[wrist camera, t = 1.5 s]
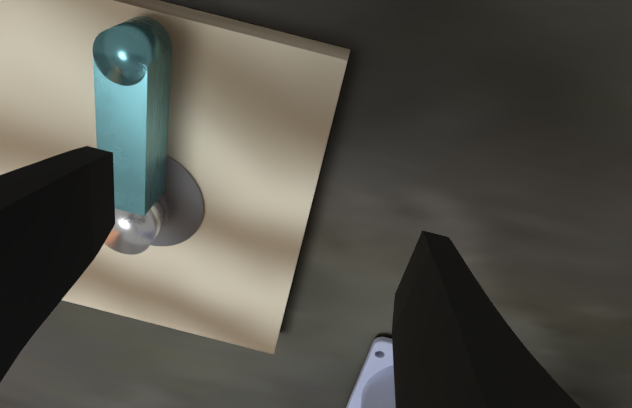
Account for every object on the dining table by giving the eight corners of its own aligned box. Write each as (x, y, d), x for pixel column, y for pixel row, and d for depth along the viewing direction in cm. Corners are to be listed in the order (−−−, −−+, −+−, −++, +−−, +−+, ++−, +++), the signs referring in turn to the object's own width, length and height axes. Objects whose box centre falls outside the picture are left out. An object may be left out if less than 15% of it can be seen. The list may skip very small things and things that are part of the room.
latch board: (279, 333, 27) (272, 357, 25) (-34, 252, 27) (-58, 272, 25) (350, 49, 18) (346, 62, 17) (-114, -70, 18) (-157, -68, 17)
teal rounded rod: (169, 232, 21) (150, 260, 20) (117, 219, 21) (94, 246, 20) (181, 25, 16) (157, 39, 15) (113, 7, 16) (81, 19, 15)
